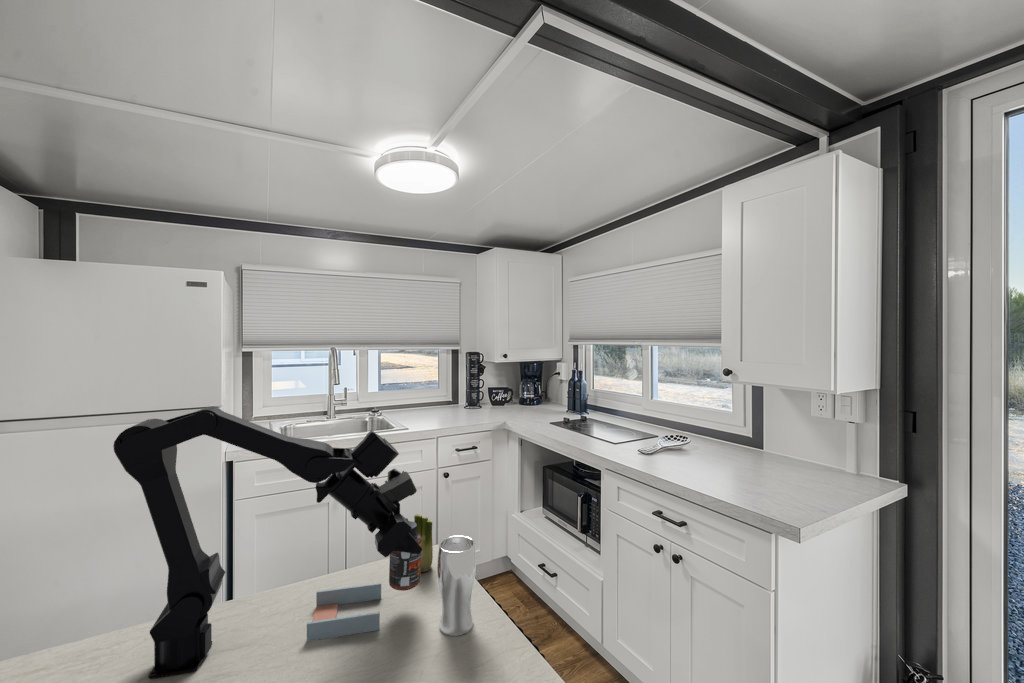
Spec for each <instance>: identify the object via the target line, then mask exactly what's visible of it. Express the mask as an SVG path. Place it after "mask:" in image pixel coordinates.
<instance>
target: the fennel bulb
mask: <svg viewBox="0 0 1024 683" xmlns="http://www.w3.org/2000/svg"><path fill="white" fill-rule="evenodd" d="M413 517H414V520H413V522H415V523H416V524H417V533H418V534H419V535H420V536H421V548H422V551H421V573H423V572H424V573H425V572H428V571H430V570H431V567H432V564H433V557H434V556H433V553H434V552H433V551H434V550H433V548H434V546H433V521H432V519H431V520H430V519H429V517H428V516H427V517H425V516H424V517H423V515H421V514H415V515H414V516H413Z"/></svg>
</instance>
